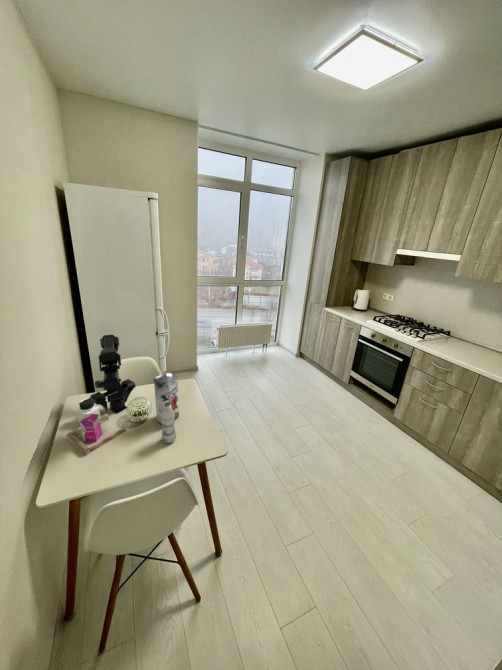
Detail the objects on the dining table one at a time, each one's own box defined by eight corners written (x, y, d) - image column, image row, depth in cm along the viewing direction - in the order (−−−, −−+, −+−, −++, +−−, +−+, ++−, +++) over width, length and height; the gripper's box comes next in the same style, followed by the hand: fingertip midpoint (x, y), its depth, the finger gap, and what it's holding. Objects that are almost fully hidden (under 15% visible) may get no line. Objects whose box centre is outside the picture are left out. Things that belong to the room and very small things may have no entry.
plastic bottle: (179, 437, 125) (177, 401, 118) (170, 447, 119) (168, 410, 112) (167, 433, 127) (165, 398, 120) (158, 443, 121) (155, 406, 114)
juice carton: (154, 422, 134) (150, 376, 125) (167, 411, 143) (165, 367, 134) (168, 428, 131) (165, 380, 122) (181, 416, 140) (179, 370, 131)
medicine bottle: (101, 419, 134) (97, 399, 130) (87, 427, 128) (83, 406, 124) (91, 414, 137) (88, 394, 133) (78, 422, 131) (74, 402, 127)
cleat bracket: (107, 418, 135) (106, 413, 134) (126, 431, 127) (125, 426, 126) (67, 439, 120) (66, 434, 119) (86, 455, 112) (85, 449, 111)
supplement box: (83, 442, 119) (78, 421, 115) (89, 433, 124) (85, 413, 120) (96, 442, 119) (92, 421, 115) (102, 433, 125) (99, 413, 121)
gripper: (120, 364, 130) (124, 392, 135) (80, 380, 115) (86, 410, 120) (134, 371, 124) (137, 399, 130) (94, 388, 109) (99, 419, 115)
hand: (116, 406), depth 124 cm, fingers open, 9 cm apart
